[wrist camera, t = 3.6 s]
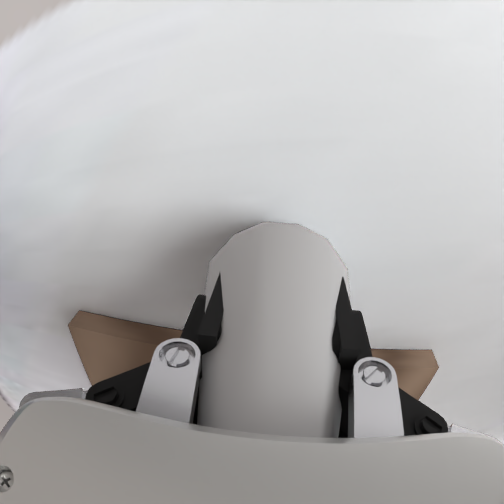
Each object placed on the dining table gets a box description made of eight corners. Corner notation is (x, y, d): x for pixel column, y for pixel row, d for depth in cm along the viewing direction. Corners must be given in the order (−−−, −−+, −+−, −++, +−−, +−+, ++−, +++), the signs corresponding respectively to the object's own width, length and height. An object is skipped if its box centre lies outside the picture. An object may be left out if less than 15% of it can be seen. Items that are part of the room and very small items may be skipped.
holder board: (431, 350, 17) (458, 421, 12) (357, 464, 24) (360, 513, 19) (79, 310, 18) (34, 369, 13) (128, 436, 25) (111, 481, 21)
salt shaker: (193, 249, 15) (54, 529, 4) (293, 177, 13) (288, 588, 1) (268, 329, 17) (234, 585, 5) (363, 276, 15) (427, 569, 3)
